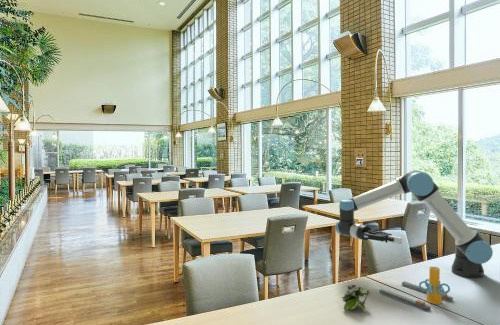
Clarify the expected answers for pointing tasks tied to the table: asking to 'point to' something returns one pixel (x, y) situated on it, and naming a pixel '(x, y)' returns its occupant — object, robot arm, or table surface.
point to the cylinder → (434, 286)
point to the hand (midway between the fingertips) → (400, 240)
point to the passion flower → (354, 297)
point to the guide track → (415, 303)
